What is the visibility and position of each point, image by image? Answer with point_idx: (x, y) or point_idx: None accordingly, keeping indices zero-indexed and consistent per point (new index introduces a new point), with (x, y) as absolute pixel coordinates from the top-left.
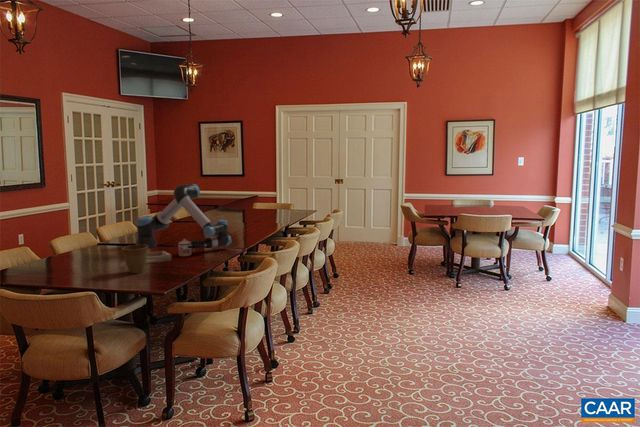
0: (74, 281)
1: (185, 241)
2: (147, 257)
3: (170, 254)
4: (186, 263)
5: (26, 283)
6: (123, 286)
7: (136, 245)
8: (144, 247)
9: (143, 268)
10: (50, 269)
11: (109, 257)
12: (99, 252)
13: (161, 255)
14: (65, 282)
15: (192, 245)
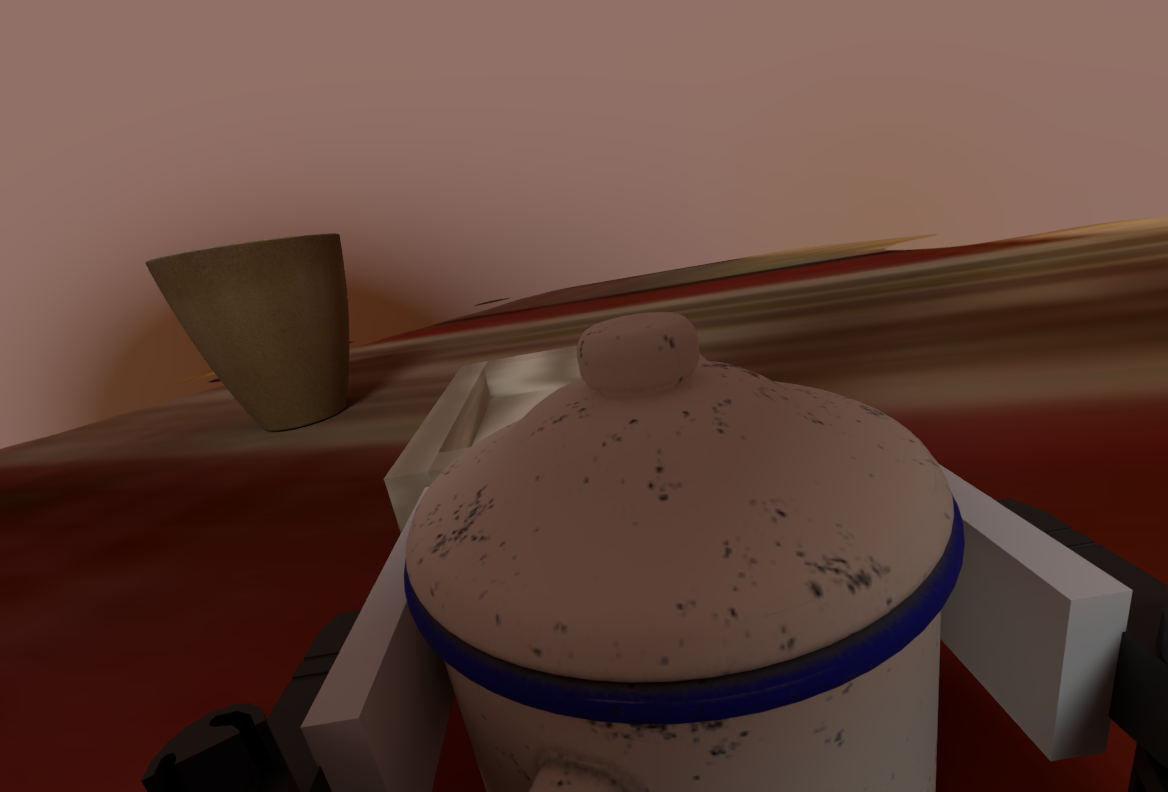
0: (411, 339)
1: (518, 422)
2: (476, 377)
3: (411, 472)
4: (3, 695)
5: (504, 304)
6: (139, 414)
7: (309, 239)
8: (243, 265)
9: (246, 409)
10: (660, 288)
11: (848, 311)
12: (1050, 271)
13: (453, 423)
14: (423, 333)
15: (309, 784)
